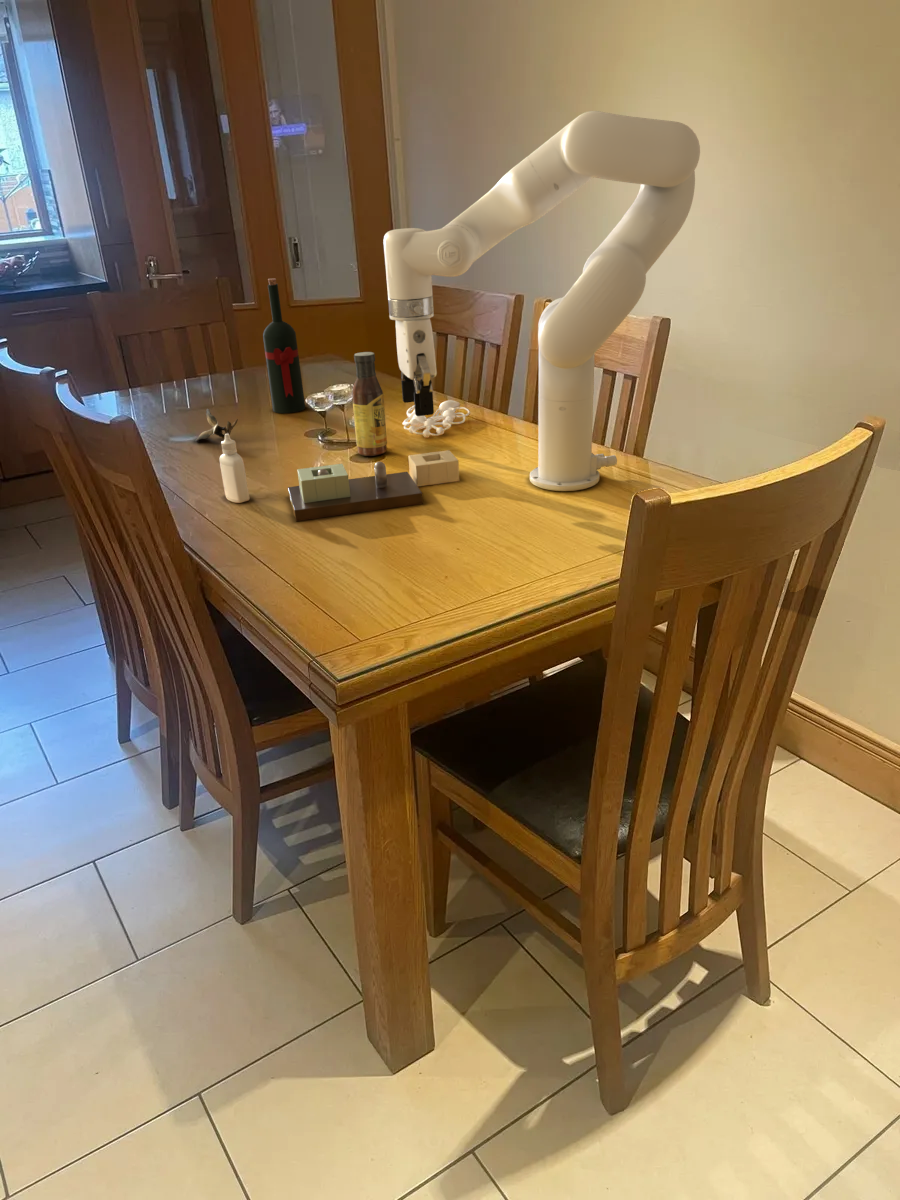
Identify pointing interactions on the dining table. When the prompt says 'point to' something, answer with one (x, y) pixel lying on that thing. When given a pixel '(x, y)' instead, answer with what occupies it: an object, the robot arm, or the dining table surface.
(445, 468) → the beige block with hole
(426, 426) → the tangled rod sculpture
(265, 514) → the dining table surface
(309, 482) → the green block with hole
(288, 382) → the wine bottle
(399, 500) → the peg board base
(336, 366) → the dining table surface
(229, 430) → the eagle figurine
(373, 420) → the sauce bottle
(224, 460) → the eye dropper bottle
